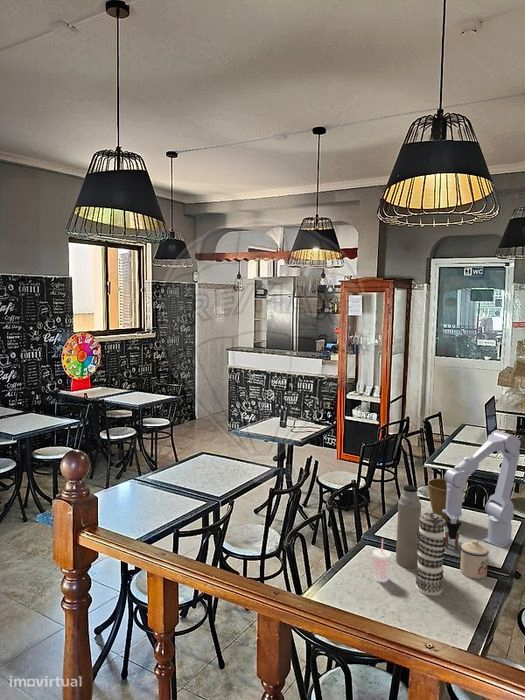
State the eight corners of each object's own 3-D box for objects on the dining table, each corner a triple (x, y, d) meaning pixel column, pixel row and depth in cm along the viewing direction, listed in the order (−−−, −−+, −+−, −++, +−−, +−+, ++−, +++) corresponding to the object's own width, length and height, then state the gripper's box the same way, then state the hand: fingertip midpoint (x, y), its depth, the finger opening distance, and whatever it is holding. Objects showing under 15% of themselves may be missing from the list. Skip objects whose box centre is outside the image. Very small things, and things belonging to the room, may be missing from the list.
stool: (444, 542, 210) (445, 526, 209) (458, 544, 208) (458, 528, 208) (444, 548, 205) (445, 531, 205) (458, 550, 204) (459, 533, 203)
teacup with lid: (482, 582, 181) (484, 549, 180) (455, 573, 187) (457, 541, 186) (493, 569, 190) (495, 537, 189) (467, 561, 196) (469, 530, 195)
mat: (445, 537, 215) (445, 536, 215) (474, 548, 206) (474, 547, 206) (429, 546, 207) (429, 545, 207) (458, 557, 198) (458, 556, 198)
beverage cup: (379, 584, 178) (381, 544, 177) (368, 576, 183) (369, 537, 182) (393, 580, 181) (395, 540, 180) (382, 572, 186) (383, 533, 185)
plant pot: (419, 519, 234) (421, 483, 232) (437, 510, 244) (438, 476, 242) (451, 530, 223) (453, 492, 221) (468, 520, 233) (470, 485, 231)
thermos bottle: (398, 555, 199) (401, 482, 197) (420, 559, 196) (423, 485, 194) (393, 564, 192) (397, 488, 190) (416, 569, 189) (420, 492, 186)
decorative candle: (411, 580, 181) (414, 509, 179) (438, 581, 181) (442, 510, 178) (418, 595, 172) (421, 520, 170) (447, 596, 172) (451, 521, 169)
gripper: (443, 493, 213) (441, 525, 214) (443, 505, 200) (441, 540, 201) (462, 495, 211) (460, 528, 212) (463, 508, 197) (461, 543, 198)
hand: (452, 534), depth 206 cm, fingers open, 7 cm apart
